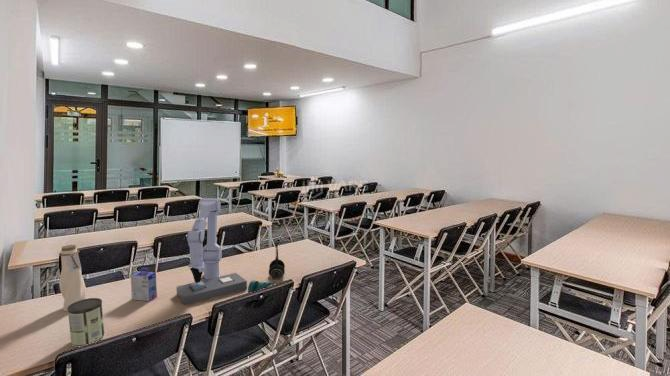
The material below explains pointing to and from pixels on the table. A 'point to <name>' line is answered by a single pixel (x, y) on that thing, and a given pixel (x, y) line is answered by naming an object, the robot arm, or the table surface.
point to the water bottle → (71, 276)
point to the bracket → (259, 285)
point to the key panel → (211, 289)
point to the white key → (225, 280)
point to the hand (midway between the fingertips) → (197, 282)
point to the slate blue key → (197, 286)
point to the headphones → (276, 266)
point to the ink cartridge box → (143, 285)
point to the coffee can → (86, 321)
